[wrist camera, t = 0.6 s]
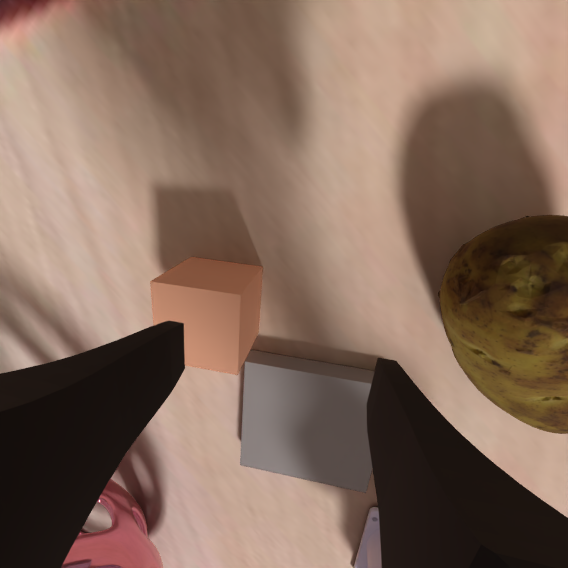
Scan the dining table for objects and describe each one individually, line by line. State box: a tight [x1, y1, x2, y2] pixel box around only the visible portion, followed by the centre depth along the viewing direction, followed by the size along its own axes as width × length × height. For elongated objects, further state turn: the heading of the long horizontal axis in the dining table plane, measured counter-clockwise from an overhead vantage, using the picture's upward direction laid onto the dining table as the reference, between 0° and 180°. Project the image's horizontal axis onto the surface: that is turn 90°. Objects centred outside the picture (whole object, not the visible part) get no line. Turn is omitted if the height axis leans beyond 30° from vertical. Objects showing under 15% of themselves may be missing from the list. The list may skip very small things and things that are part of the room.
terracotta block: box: [150, 257, 263, 375], centre depth 20 cm, size 5×5×5 cm
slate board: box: [240, 350, 375, 493], centre depth 23 cm, size 10×10×2 cm
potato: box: [438, 215, 568, 434], centre depth 15 cm, size 8×13×8 cm, turn 10°
